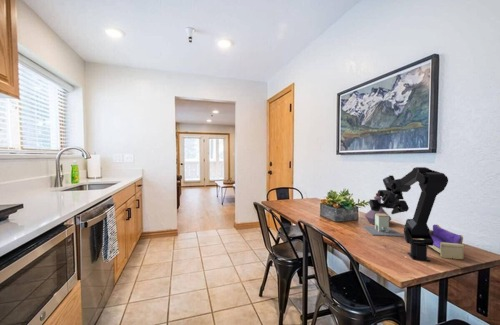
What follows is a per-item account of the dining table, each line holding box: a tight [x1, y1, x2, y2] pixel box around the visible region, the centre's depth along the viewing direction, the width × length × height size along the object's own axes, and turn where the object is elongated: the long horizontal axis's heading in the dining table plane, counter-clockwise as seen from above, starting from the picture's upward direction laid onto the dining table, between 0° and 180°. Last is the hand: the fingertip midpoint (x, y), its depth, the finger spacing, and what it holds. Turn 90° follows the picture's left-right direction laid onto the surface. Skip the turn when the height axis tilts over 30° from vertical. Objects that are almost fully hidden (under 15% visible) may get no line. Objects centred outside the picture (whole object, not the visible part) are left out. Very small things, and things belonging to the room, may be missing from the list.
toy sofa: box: [416, 224, 465, 260], centre depth 106 cm, size 21×9×10 cm, turn 168°
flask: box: [364, 192, 392, 225], centre depth 150 cm, size 16×16×20 cm
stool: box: [374, 213, 390, 232], centre depth 132 cm, size 5×5×10 cm
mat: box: [362, 225, 405, 238], centre depth 132 cm, size 16×16×1 cm
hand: (383, 213), depth 130 cm, fingers open, 9 cm apart
